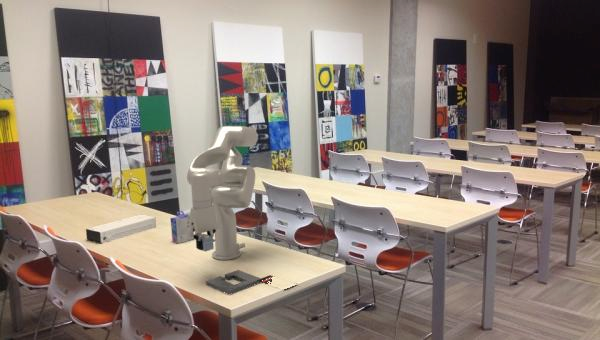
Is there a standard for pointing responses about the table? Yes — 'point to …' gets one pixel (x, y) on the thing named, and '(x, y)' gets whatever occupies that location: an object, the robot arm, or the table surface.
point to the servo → (207, 242)
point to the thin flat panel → (271, 281)
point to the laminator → (120, 228)
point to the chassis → (230, 288)
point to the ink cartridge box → (180, 228)
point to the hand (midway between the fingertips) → (204, 247)
